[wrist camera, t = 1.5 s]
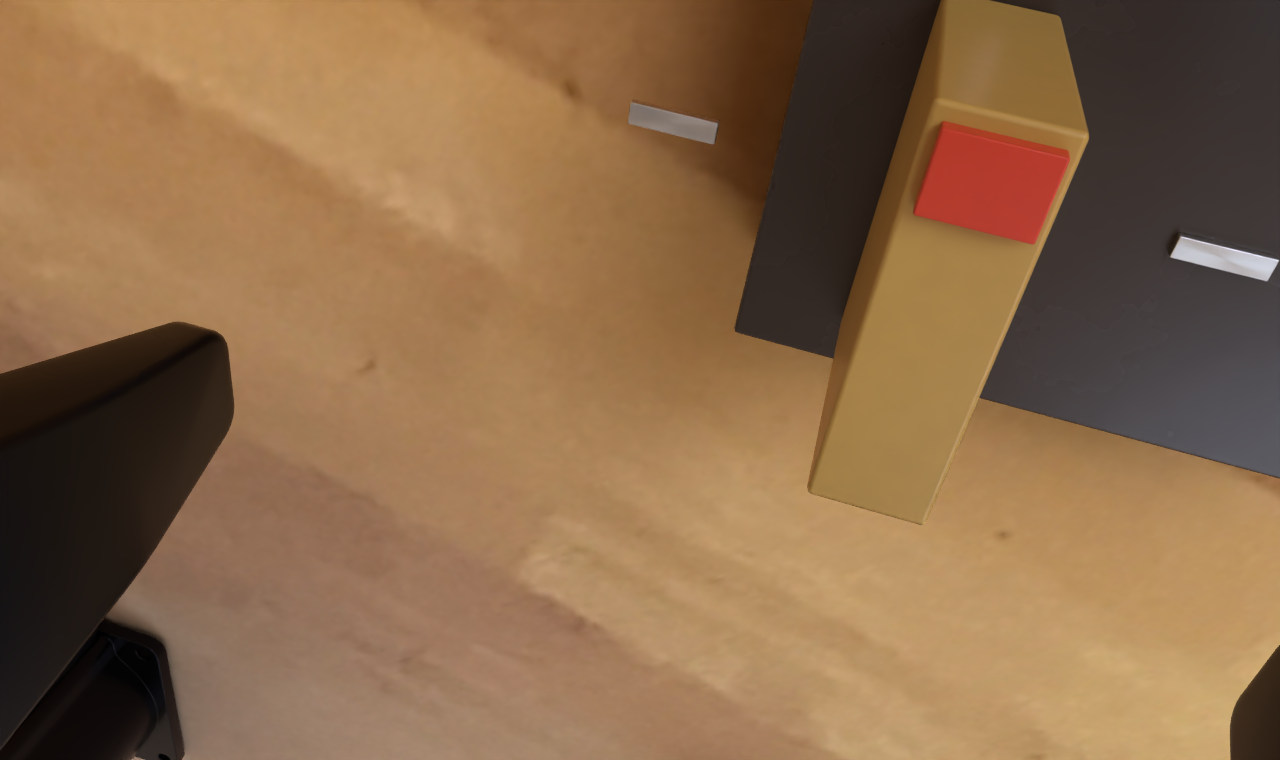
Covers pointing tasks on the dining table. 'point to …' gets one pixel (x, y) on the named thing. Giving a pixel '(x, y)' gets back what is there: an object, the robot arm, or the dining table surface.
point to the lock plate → (1065, 215)
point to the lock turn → (948, 252)
